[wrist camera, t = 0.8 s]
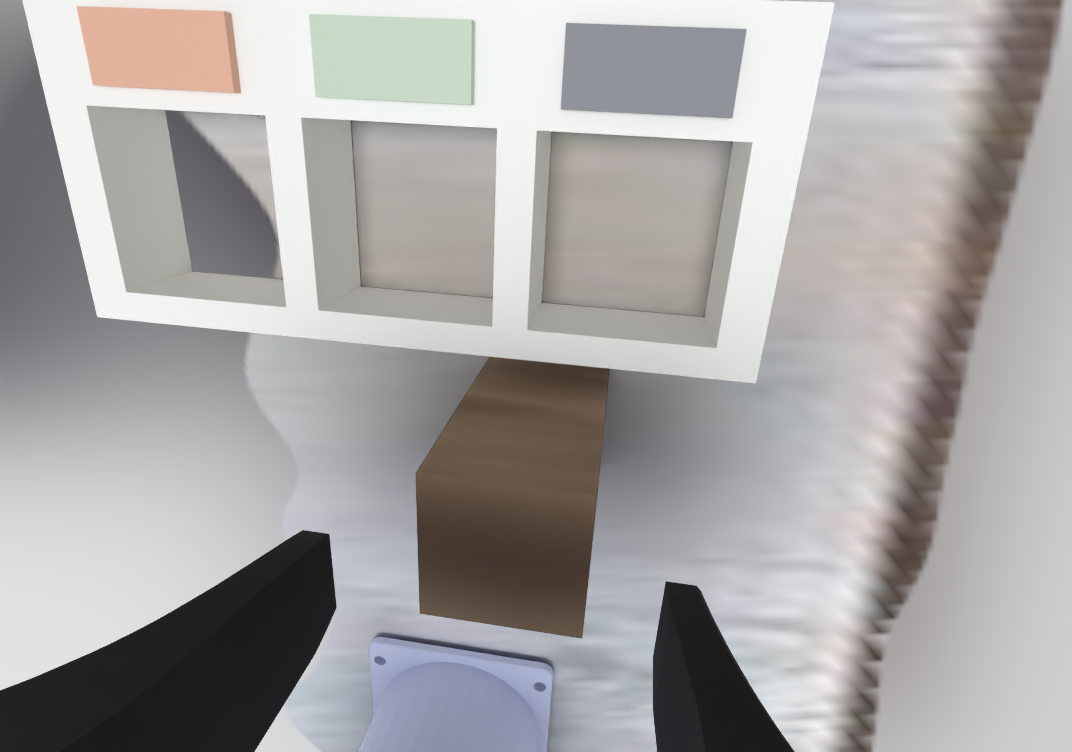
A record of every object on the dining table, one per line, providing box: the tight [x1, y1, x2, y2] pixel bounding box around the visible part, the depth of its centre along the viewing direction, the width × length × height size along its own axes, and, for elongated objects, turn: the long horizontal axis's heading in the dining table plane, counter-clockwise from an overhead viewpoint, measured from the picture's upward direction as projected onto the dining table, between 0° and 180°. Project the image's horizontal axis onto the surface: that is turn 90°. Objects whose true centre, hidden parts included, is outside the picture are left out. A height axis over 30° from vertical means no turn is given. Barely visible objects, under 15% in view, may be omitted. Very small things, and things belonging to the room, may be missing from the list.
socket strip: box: [23, 0, 835, 383], centre depth 17 cm, size 9×20×3 cm, turn 87°
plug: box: [416, 357, 609, 638], centre depth 17 cm, size 4×4×8 cm
